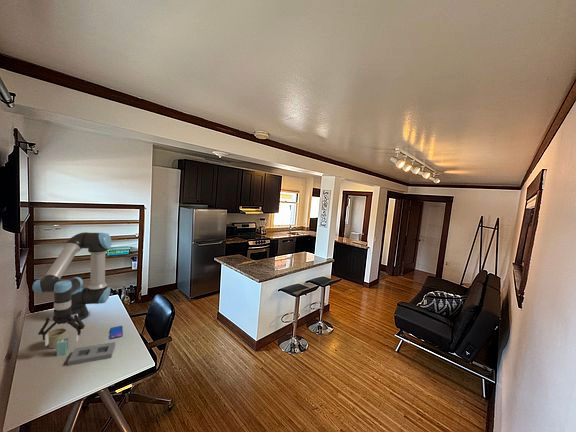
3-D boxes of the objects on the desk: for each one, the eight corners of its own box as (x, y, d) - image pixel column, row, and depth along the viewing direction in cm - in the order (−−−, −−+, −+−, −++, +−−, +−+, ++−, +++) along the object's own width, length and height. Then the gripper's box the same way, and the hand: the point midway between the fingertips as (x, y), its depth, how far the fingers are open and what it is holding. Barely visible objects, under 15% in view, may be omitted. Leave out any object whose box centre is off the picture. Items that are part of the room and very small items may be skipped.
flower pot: (60, 339, 156) (60, 326, 155) (70, 343, 153) (70, 330, 153) (41, 347, 147) (41, 334, 147) (51, 352, 145) (51, 338, 144)
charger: (59, 352, 145) (59, 338, 144) (68, 350, 147) (68, 337, 146) (56, 356, 142) (56, 342, 141) (65, 354, 143) (65, 341, 142)
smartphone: (122, 325, 176) (122, 336, 164) (122, 326, 176) (122, 337, 164) (110, 327, 172) (109, 339, 160) (110, 328, 172) (109, 340, 160)
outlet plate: (75, 352, 146) (75, 348, 146) (115, 345, 155) (115, 341, 155) (67, 365, 135) (67, 361, 135) (111, 357, 144) (111, 353, 144)
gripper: (30, 313, 133) (30, 350, 134) (87, 307, 144) (87, 342, 145) (36, 307, 139) (36, 342, 141) (91, 302, 150) (90, 335, 152)
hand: (62, 342), depth 143 cm, fingers open, 13 cm apart
